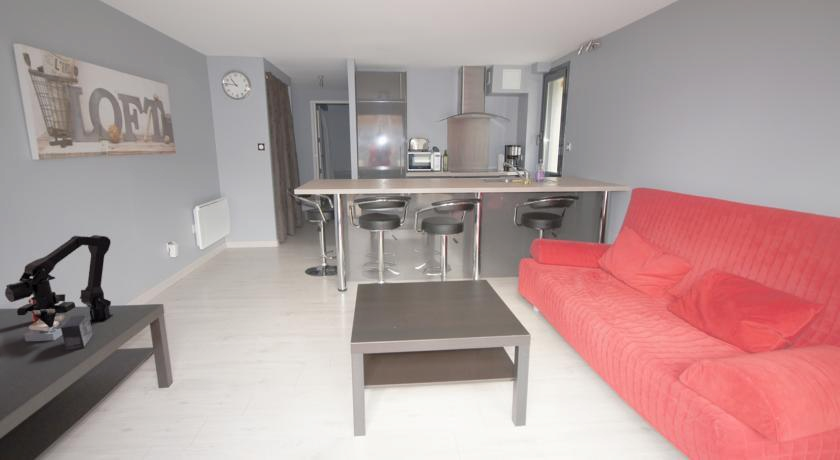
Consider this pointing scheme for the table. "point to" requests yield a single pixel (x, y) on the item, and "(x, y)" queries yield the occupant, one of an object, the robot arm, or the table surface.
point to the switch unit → (44, 334)
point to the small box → (77, 332)
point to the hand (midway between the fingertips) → (51, 327)
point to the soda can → (33, 311)
